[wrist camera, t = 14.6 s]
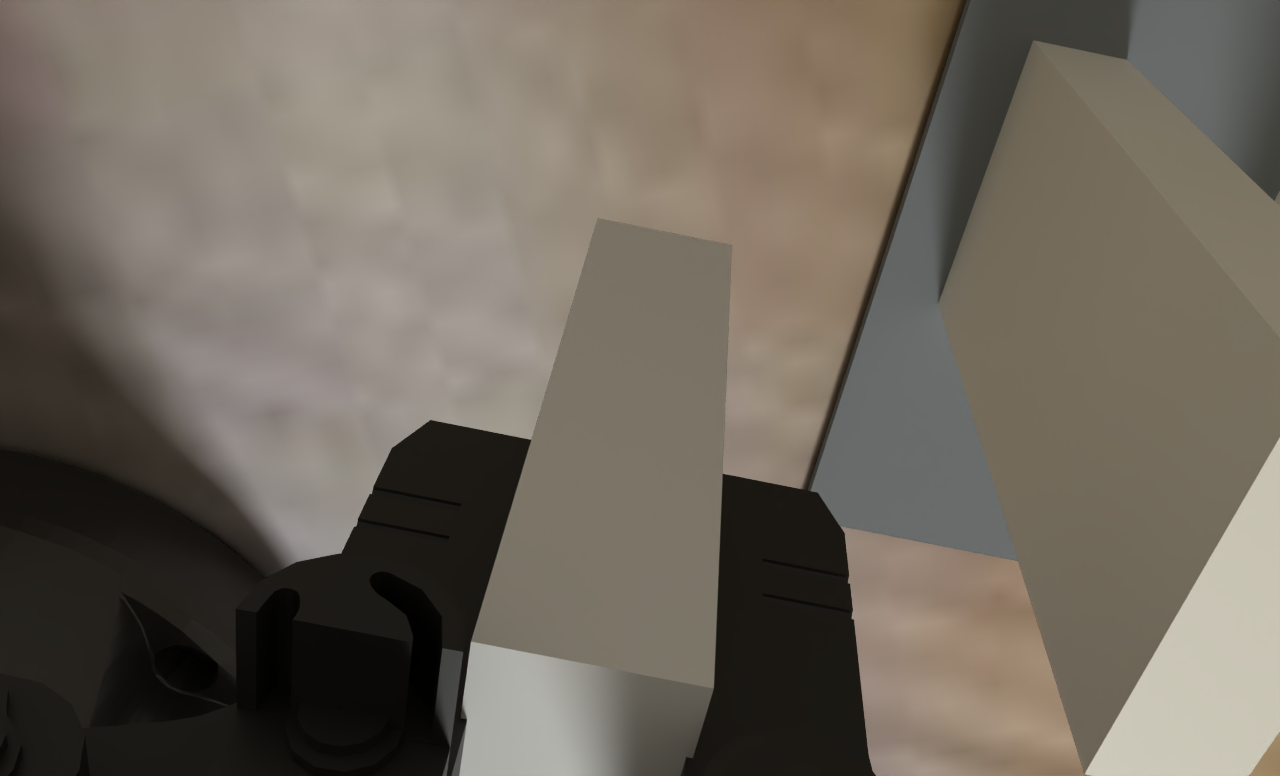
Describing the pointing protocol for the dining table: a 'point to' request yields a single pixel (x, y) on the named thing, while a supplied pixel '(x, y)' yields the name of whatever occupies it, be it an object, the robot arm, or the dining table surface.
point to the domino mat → (937, 217)
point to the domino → (1131, 411)
